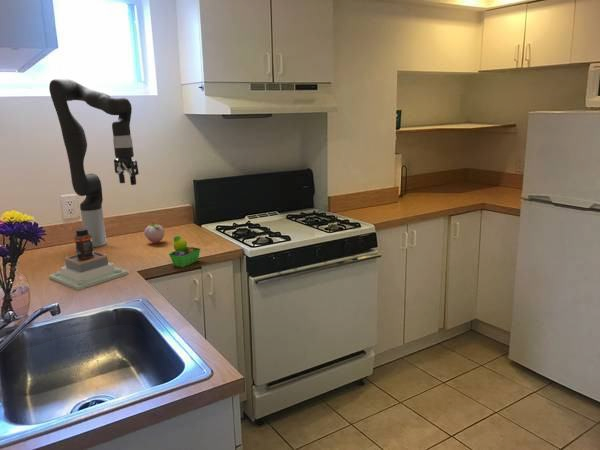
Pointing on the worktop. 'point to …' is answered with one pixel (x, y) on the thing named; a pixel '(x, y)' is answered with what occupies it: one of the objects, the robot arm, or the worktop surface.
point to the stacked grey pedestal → (87, 271)
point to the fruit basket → (183, 253)
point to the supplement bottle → (84, 244)
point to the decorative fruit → (154, 233)
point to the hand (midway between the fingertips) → (128, 183)
